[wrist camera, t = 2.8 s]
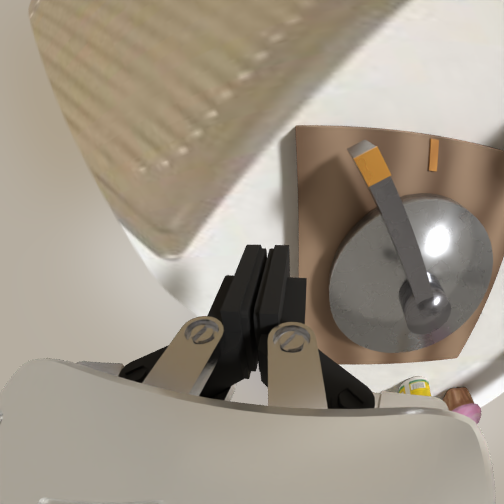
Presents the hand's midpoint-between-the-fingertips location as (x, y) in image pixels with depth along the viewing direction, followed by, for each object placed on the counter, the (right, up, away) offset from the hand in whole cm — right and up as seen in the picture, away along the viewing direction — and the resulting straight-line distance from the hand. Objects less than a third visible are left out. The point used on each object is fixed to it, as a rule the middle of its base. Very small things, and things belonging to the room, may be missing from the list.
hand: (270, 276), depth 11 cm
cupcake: (+37, -25, +25) cm, 51 cm away
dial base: (+16, -1, +15) cm, 22 cm away
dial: (+14, +1, +12) cm, 18 cm away
